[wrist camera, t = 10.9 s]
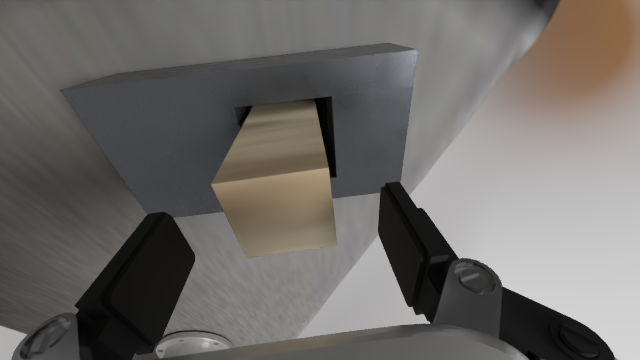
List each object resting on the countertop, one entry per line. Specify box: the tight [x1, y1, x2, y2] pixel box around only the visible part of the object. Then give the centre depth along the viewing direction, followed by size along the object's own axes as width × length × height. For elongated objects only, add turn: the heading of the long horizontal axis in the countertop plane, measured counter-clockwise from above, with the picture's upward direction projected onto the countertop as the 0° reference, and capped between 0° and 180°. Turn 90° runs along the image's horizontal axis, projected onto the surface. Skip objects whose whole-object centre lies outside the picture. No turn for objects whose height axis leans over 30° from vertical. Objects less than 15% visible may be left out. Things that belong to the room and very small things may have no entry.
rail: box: [60, 43, 418, 218], centre depth 18 cm, size 10×20×5 cm, turn 95°
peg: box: [211, 98, 337, 258], centre depth 15 cm, size 4×4×12 cm
